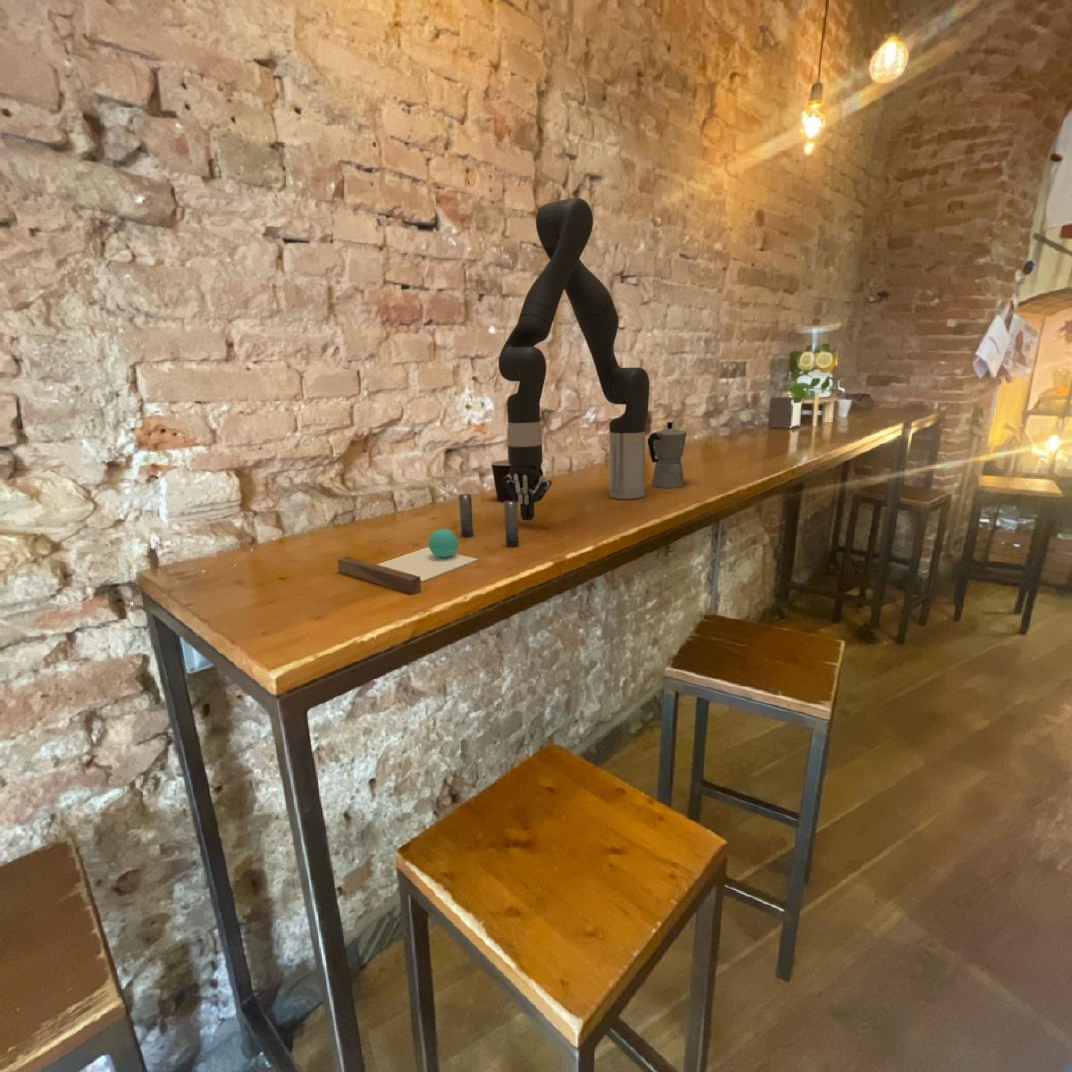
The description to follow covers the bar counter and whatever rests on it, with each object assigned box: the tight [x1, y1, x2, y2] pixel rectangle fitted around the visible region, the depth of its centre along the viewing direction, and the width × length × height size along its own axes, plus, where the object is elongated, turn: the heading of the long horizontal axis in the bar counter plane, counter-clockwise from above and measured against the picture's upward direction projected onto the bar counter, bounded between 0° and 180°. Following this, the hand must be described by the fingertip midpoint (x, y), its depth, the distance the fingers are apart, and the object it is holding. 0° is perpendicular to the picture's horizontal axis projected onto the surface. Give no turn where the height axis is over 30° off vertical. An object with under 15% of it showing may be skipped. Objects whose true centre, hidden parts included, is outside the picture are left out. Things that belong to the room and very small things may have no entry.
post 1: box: [458, 493, 474, 538], centre depth 132 cm, size 3×3×9 cm
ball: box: [428, 528, 459, 558], centre depth 118 cm, size 6×6×6 cm
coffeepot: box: [647, 421, 688, 490], centre depth 173 cm, size 15×9×18 cm, turn 129°
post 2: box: [503, 500, 520, 548], centre depth 124 cm, size 3×3×9 cm
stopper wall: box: [337, 555, 422, 595], centre depth 107 cm, size 2×20×2 cm, turn 52°
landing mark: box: [376, 546, 479, 583], centre depth 116 cm, size 14×14×1 cm
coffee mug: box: [491, 459, 518, 503], centre depth 164 cm, size 12×9×10 cm
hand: (527, 519), depth 139 cm, fingers closed
